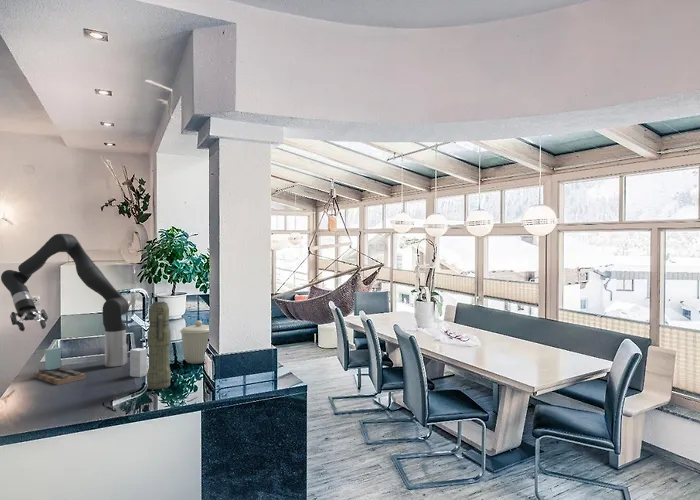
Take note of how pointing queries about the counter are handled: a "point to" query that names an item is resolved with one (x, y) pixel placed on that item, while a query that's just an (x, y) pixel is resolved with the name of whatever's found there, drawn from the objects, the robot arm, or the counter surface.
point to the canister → (195, 342)
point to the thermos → (159, 346)
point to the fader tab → (53, 359)
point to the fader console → (59, 375)
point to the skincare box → (138, 362)
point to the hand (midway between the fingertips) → (33, 329)
